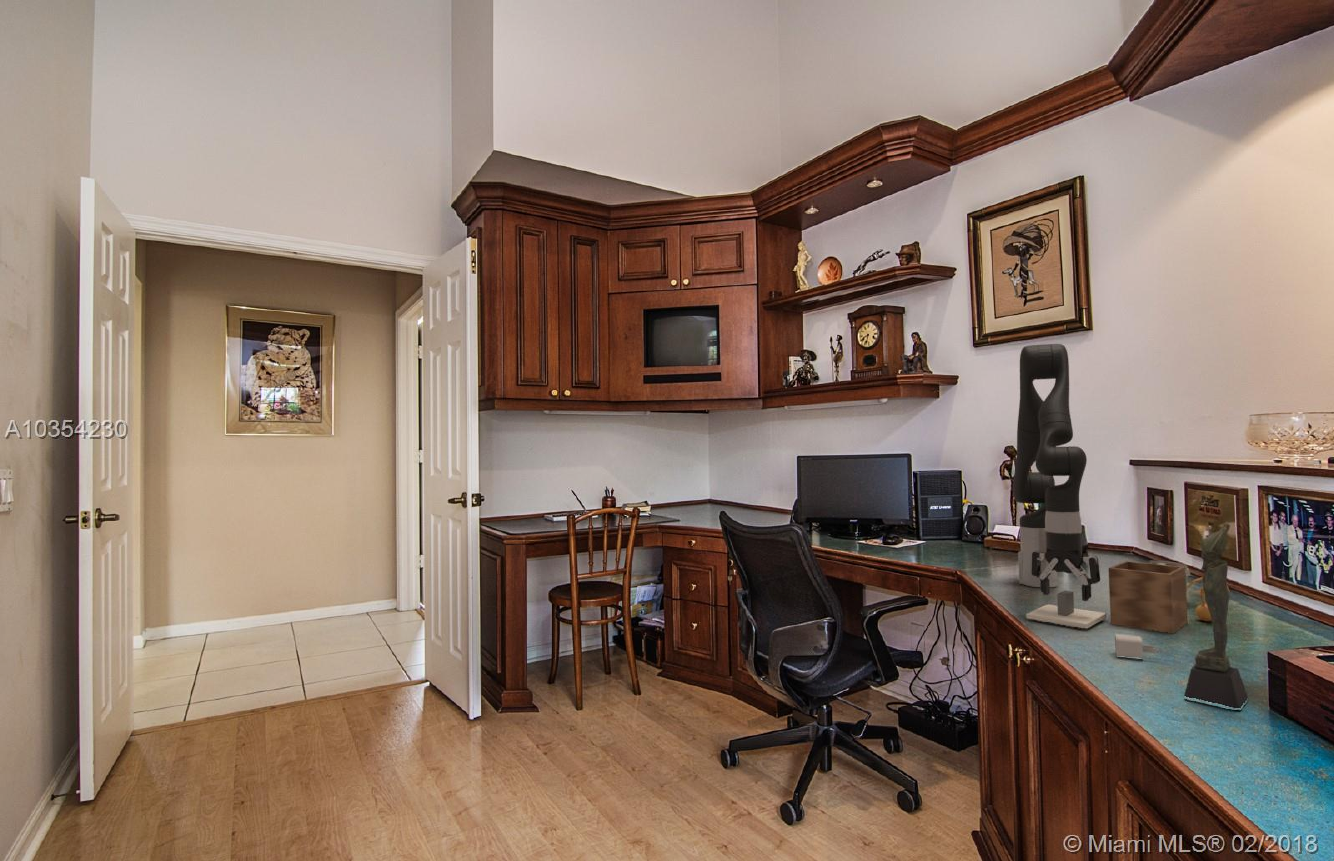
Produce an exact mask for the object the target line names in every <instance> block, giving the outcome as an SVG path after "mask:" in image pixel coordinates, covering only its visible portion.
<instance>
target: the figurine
mask: <svg viewBox="0 0 1334 861" xmlns="http://www.w3.org/2000/svg"><path fill="white" fill-rule="evenodd" d="M1202 577H1203V576H1201V577H1199V578H1196V579H1195V578H1194V580H1192V581H1191V582H1189V584H1187V588H1186V591H1188V589H1189V588H1190V587H1191V586H1192V585H1194V583H1198V582H1202V584H1204V582H1203V579H1202ZM1227 589H1228V592H1229V594H1230V593H1231V592H1230V589H1229V586H1228V585H1227ZM1199 594H1200V598H1201V600H1202V602H1201V604H1199V605H1197V607H1196V608H1195V614H1196V617H1197V618H1198V619H1199V620H1202V621H1203V622H1212V619H1211V615H1210V612H1209V609H1208V606H1207V603H1206V601H1205V594H1204V589H1203V586H1200V591H1199Z"/></svg>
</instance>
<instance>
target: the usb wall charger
mask: <svg viewBox="0 0 1334 861" xmlns="http://www.w3.org/2000/svg"><path fill="white" fill-rule="evenodd" d="M1143 643H1144V642H1143V638H1142V636H1140V635H1130V634H1120V633H1114V648H1115V650H1114V652H1115V651H1116V652H1115V656H1116V655H1117V656H1125V657H1139V658H1143V659H1144V653H1150V654H1159V653H1160V652H1159V649H1158V647H1157V646H1152V645H1146V644H1143ZM1154 648H1155V649H1154ZM1156 651H1157V652H1156Z"/></svg>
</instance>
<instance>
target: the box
mask: <svg viewBox="0 0 1334 861" xmlns="http://www.w3.org/2000/svg"><path fill="white" fill-rule="evenodd" d="M1108 585H1109V586H1108V587H1109V588H1108V589H1109V590H1108V592H1109V612H1110V613H1109V614H1110V615H1109V616H1110V617H1109V618H1110V625H1111V624H1112V625H1116V626H1122V627H1127V628H1128V627H1129V628H1134V627H1136V628H1135V629H1140V628H1141V630H1146V629H1147V631H1152V630H1154V632H1158V631H1159V633H1165V632H1169V633H1168V634H1171V633H1173V634H1175V633H1176V632H1178V631H1179V630H1180V629H1182V628H1183V627H1184V626H1186V625H1187V624H1188V623H1189V622H1188V620H1189V619H1188V598H1187V590H1186V571H1185V567H1180V566H1170V565H1160V564H1150V562H1149V563H1148V562H1139V561H1138V562H1137V561H1131V560H1130V561H1128V560H1124V561H1122V562H1120V563H1117V564H1115V565H1112V566H1110V567H1108ZM1181 627H1182V628H1181ZM1178 629H1179V630H1178ZM1177 630H1178V631H1177ZM1174 632H1175V633H1174Z"/></svg>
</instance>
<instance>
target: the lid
mask: <svg viewBox="0 0 1334 861" xmlns="http://www.w3.org/2000/svg"><path fill="white" fill-rule="evenodd" d="M1074 595H1075V594H1074V591H1072V590H1063V591H1060V592H1058V593H1057V594H1056V596H1057V597H1056V598H1057V605H1055V604H1049V603H1048V604H1045V605H1044V606H1041V607H1039V608H1036V609H1034V610H1032V611H1029V612H1027V613H1026V614H1025V616H1026V617H1025V618H1026V619H1029V620H1036V621H1037V622H1040V621H1042V622H1041V623H1045V622H1052V623H1056V624H1055V625H1057V624H1060V625H1059V626H1063V625H1065V626H1064V627H1069V626H1070V627H1069V628H1074V627H1079V628H1078V629H1080V628H1081V629H1088V628H1091V627H1092V626H1094V625H1096V624H1097V623H1100V622H1101V621H1103V620H1105V619H1107V612H1106V613H1105V612H1100V611H1093V610H1086V609H1079V608H1075V599H1074Z"/></svg>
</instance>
